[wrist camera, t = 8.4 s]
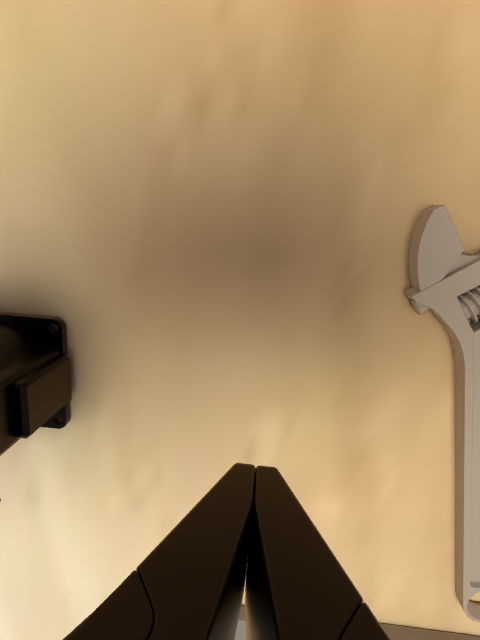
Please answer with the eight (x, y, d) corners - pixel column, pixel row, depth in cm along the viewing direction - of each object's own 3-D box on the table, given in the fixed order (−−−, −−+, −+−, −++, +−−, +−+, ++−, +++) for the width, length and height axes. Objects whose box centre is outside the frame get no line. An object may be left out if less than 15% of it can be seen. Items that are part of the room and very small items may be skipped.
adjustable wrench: (497, 599, 24) (513, 627, 23) (390, 596, 25) (398, 624, 23) (548, 172, 18) (576, 167, 16) (404, 183, 19) (417, 180, 17)
